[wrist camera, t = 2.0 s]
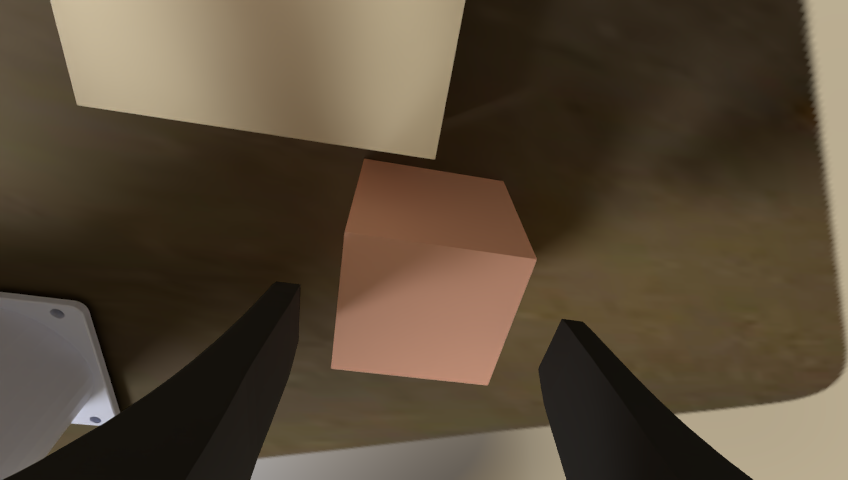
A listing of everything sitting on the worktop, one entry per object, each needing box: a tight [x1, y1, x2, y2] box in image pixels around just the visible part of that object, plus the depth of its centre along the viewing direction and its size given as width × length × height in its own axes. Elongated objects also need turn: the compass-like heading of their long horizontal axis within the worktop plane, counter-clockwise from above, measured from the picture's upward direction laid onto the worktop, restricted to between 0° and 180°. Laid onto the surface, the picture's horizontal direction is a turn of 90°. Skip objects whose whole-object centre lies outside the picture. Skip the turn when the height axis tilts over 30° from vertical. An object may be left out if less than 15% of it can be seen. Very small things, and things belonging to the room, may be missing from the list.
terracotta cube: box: [331, 158, 537, 385], centre depth 14 cm, size 5×5×5 cm
